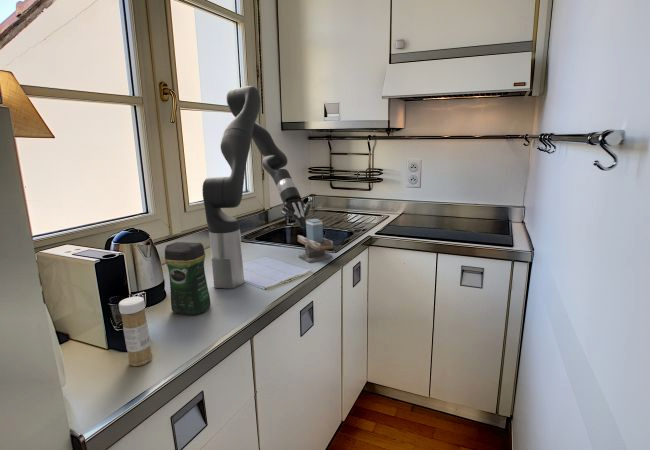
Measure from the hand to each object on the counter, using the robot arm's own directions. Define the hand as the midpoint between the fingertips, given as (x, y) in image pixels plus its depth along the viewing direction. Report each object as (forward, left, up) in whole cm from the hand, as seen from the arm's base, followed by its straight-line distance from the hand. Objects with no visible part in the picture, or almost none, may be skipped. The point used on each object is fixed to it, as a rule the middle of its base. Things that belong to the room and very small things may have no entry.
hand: (304, 226), depth 147 cm
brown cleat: (-6, -5, -10) cm, 13 cm away
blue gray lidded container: (-6, -5, -4) cm, 9 cm away
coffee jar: (-52, +21, -10) cm, 57 cm away
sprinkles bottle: (-76, +20, -10) cm, 80 cm away
